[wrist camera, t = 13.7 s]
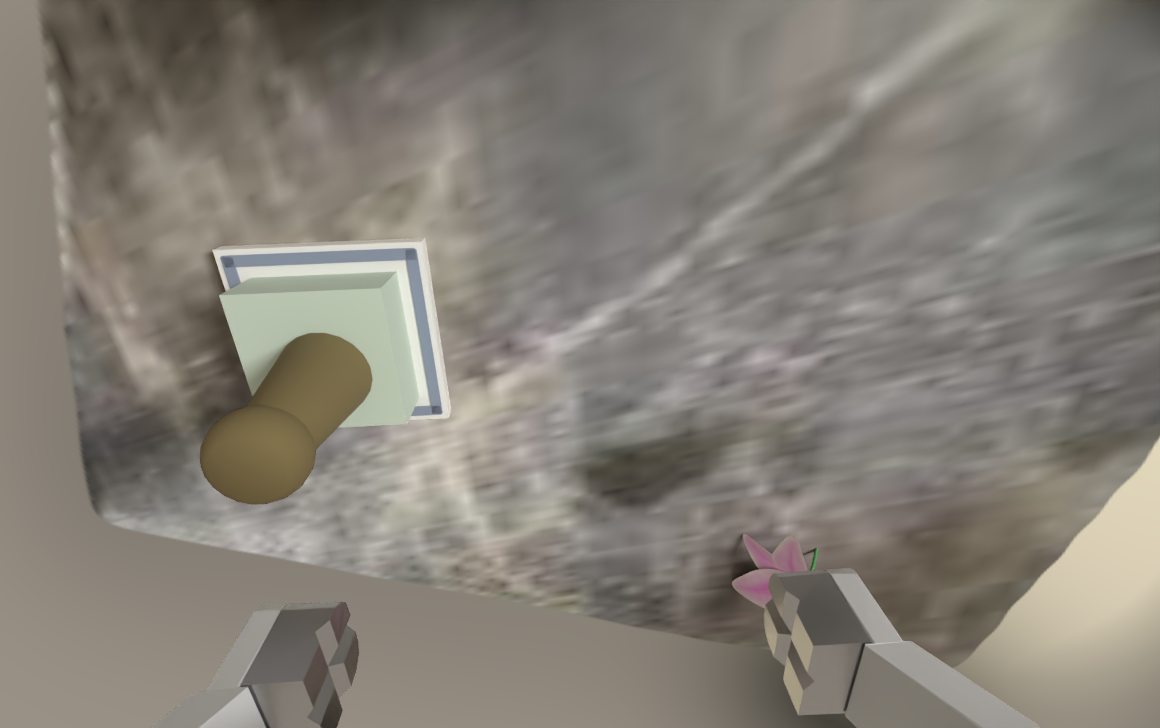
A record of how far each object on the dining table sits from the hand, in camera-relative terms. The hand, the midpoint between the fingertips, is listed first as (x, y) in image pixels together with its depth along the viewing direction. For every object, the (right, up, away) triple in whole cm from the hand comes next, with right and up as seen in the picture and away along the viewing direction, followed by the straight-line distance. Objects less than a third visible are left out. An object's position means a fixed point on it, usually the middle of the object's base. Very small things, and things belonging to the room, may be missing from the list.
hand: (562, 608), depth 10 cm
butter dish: (-17, +7, +30) cm, 35 cm away
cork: (-17, +4, +26) cm, 31 cm away
